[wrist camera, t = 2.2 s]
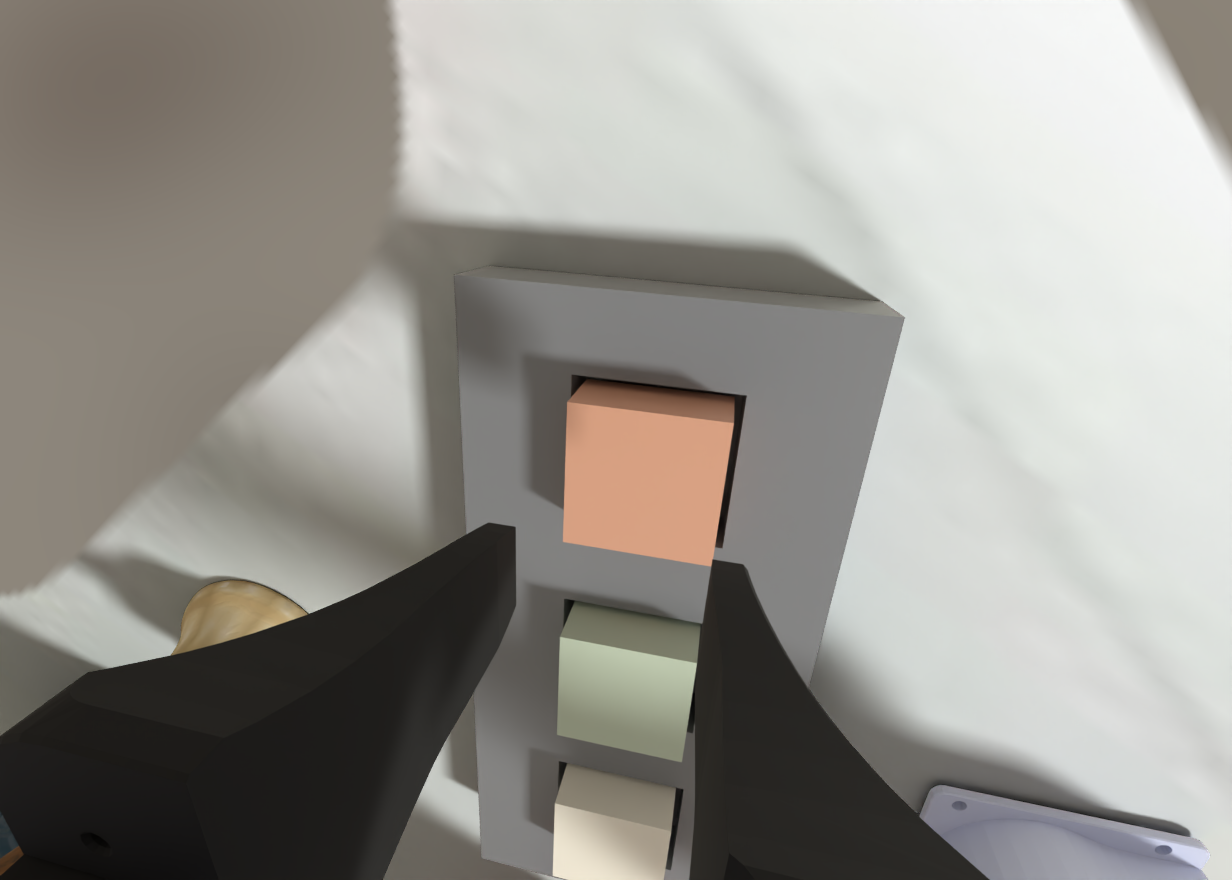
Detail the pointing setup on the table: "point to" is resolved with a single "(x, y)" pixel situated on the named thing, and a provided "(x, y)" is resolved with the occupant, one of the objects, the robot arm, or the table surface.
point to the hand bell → (220, 626)
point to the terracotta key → (646, 469)
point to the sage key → (627, 679)
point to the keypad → (565, 572)
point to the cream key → (611, 826)
